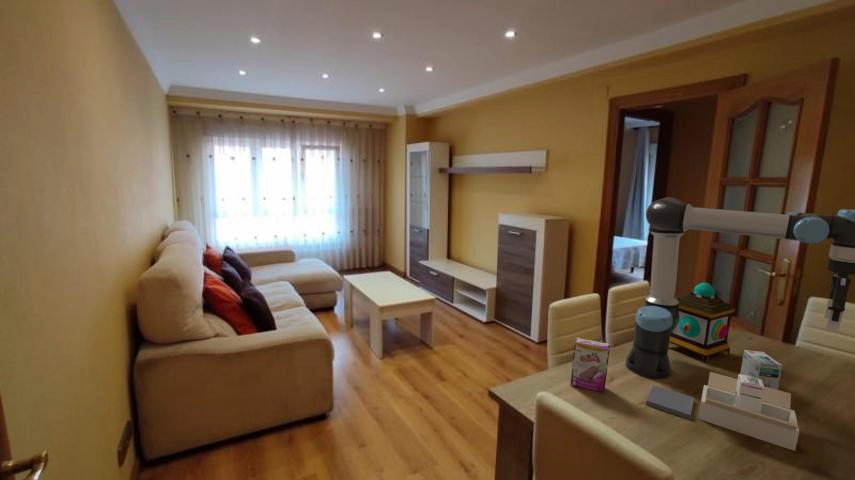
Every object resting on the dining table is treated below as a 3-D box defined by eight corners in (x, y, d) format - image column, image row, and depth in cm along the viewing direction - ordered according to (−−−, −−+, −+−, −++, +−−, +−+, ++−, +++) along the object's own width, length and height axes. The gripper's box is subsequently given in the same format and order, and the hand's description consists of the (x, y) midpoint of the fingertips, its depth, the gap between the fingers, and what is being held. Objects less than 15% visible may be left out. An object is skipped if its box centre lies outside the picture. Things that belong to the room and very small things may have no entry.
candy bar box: (570, 386, 138) (574, 342, 135) (571, 379, 143) (575, 336, 140) (605, 394, 134) (610, 349, 131) (605, 387, 138) (610, 343, 135)
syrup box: (757, 432, 115) (766, 387, 113) (732, 425, 118) (740, 381, 116) (754, 422, 120) (762, 378, 117) (730, 415, 123) (738, 372, 120)
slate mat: (645, 404, 128) (646, 400, 128) (652, 389, 137) (652, 385, 137) (689, 419, 121) (690, 415, 121) (693, 401, 130) (694, 397, 130)
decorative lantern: (657, 345, 172) (666, 279, 167) (685, 337, 181) (694, 274, 176) (707, 366, 154) (718, 292, 149) (734, 356, 163) (746, 286, 158)
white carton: (697, 425, 118) (701, 396, 116) (702, 396, 134) (706, 370, 132) (796, 459, 105) (803, 427, 103) (789, 422, 120) (795, 394, 119)
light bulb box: (778, 394, 136) (783, 365, 134) (755, 391, 137) (761, 362, 135) (759, 378, 146) (764, 351, 144) (738, 376, 147) (743, 349, 145)
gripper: (868, 269, 111) (851, 339, 115) (859, 256, 129) (844, 317, 133) (830, 264, 116) (815, 332, 120) (826, 252, 134) (813, 311, 138)
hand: (830, 324), depth 126 cm, fingers open, 13 cm apart
